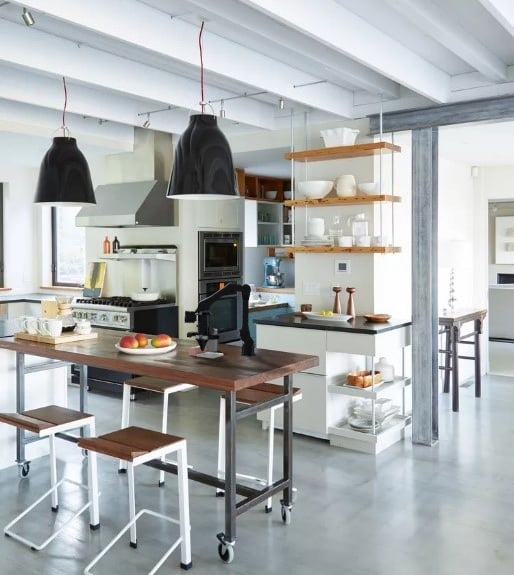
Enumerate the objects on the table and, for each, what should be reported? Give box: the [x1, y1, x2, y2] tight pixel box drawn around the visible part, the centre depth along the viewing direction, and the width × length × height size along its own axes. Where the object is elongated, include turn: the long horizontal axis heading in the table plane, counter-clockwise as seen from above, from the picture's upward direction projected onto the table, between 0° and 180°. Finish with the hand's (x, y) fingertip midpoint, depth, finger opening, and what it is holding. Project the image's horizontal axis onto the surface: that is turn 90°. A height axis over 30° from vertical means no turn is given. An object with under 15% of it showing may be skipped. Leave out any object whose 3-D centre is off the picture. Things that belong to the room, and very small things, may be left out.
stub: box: [188, 345, 206, 357], centre depth 357 cm, size 4×10×4 cm, turn 148°
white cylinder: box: [206, 328, 218, 353], centre depth 371 cm, size 10×10×12 cm
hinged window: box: [196, 351, 224, 359], centre depth 353 cm, size 11×10×1 cm
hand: (202, 351), depth 355 cm, fingers closed
